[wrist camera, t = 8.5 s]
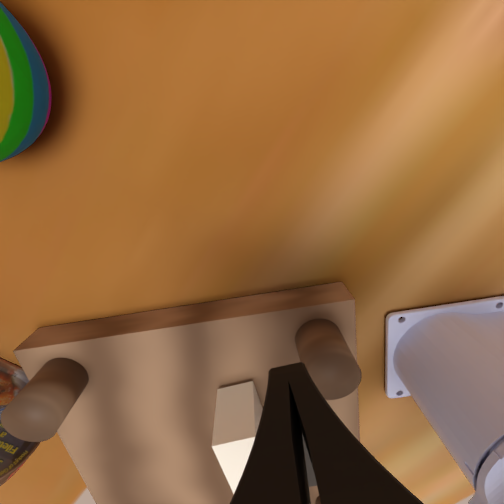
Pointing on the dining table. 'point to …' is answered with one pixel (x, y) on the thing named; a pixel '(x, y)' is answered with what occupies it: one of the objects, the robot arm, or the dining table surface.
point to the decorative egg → (20, 88)
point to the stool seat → (177, 386)
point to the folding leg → (235, 428)
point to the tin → (3, 443)
